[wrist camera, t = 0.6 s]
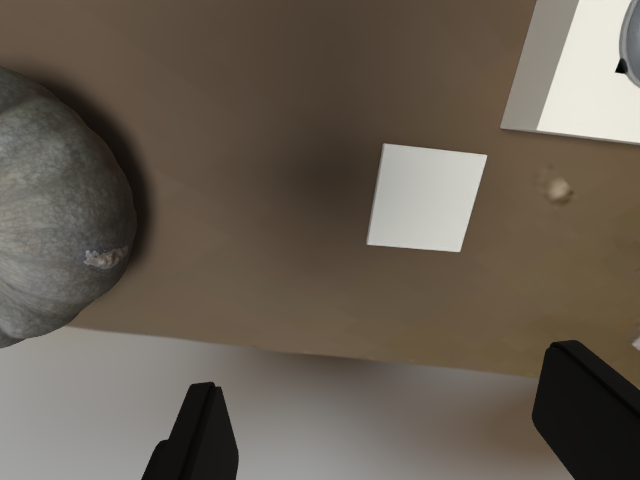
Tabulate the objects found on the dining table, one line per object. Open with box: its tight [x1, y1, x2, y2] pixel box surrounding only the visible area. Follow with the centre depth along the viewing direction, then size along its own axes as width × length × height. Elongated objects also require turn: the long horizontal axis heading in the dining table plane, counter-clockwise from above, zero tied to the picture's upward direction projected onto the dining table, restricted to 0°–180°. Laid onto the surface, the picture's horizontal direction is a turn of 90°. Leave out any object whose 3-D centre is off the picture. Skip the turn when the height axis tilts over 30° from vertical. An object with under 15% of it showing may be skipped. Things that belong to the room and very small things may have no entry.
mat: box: [366, 143, 487, 252], centre depth 38 cm, size 12×12×1 cm
